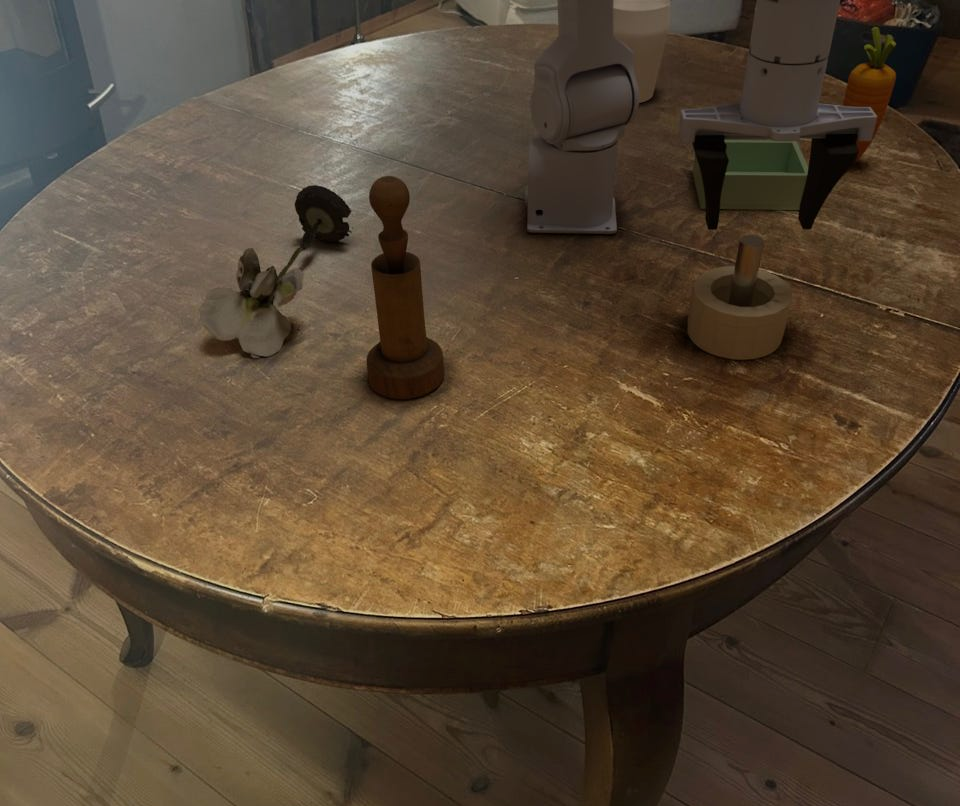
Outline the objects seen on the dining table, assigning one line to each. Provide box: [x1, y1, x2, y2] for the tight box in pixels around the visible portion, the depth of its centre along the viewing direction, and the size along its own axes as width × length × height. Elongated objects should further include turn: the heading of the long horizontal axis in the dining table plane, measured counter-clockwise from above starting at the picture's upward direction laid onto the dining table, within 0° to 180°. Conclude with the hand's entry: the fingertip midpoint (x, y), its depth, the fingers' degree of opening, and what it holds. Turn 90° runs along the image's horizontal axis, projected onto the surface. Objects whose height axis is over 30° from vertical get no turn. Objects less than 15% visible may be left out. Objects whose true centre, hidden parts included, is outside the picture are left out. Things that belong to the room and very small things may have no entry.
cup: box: [613, 0, 672, 104], centre depth 123 cm, size 9×9×12 cm
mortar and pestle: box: [366, 175, 445, 400], centre depth 74 cm, size 7×6×18 cm
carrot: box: [842, 26, 897, 165], centre depth 104 cm, size 5×5×15 cm
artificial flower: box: [198, 184, 354, 359], centre depth 88 cm, size 9×22×10 cm, turn 160°
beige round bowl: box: [686, 265, 794, 361], centre depth 83 cm, size 8×8×4 cm
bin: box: [692, 139, 809, 211], centre depth 104 cm, size 11×9×4 cm
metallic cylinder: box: [728, 234, 765, 307], centre depth 81 cm, size 2×3×9 cm
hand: (757, 224), depth 77 cm, fingers open, 7 cm apart
